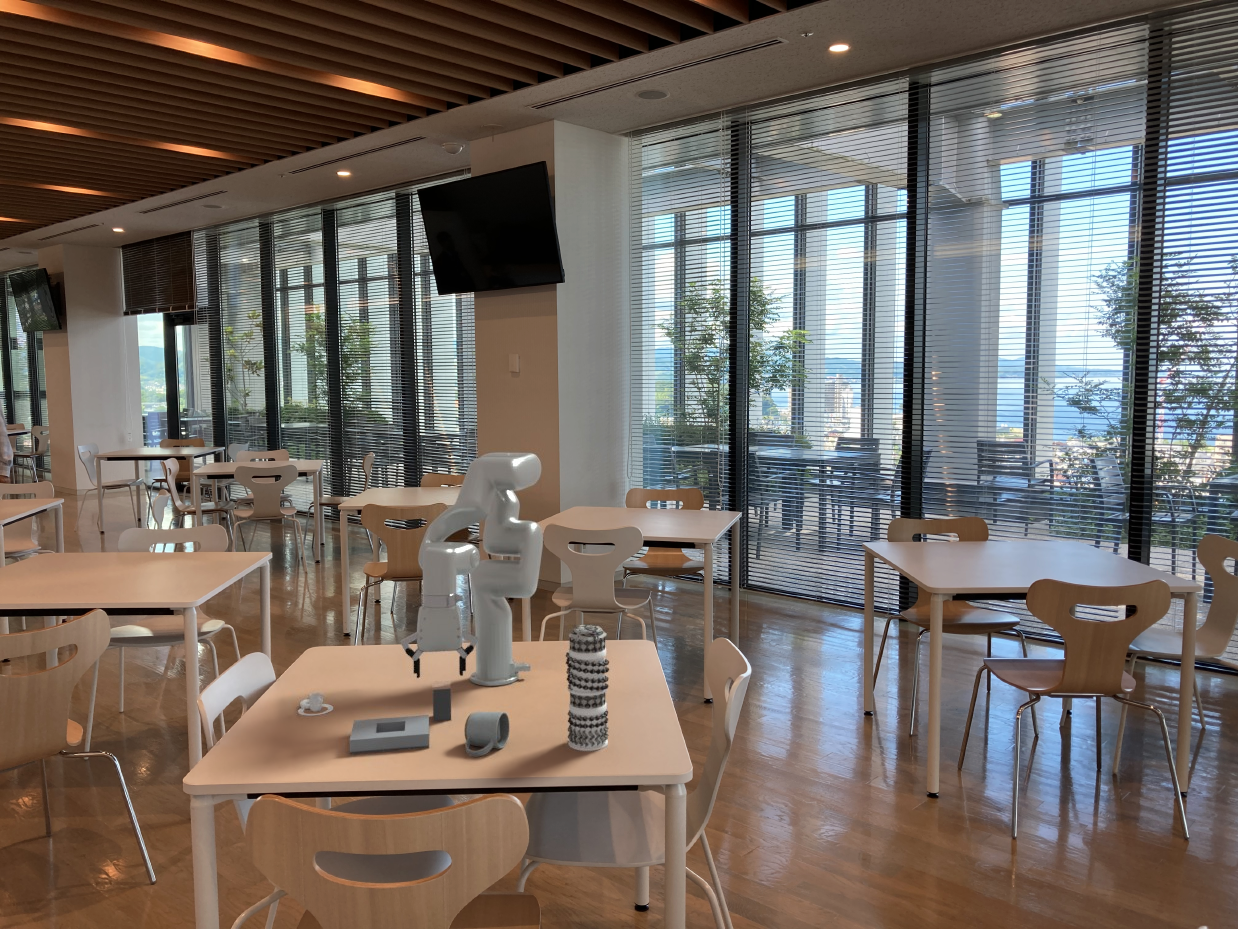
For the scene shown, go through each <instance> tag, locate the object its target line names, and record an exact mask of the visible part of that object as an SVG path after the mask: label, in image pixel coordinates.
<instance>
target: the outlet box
mask: <svg viewBox="0 0 1238 929" xmlns="http://www.w3.org/2000/svg"><path fill="white" fill-rule="evenodd" d="M429 748H430V716H429V714H422V715H421V714H420V715H409V716H408V715H406V716H395V717H394V716H393V717H383V718H382V717H379V718H367V719H356V720H353V724H352V727H351V732H350V737H349V755H357V754H358V755H359V754H370V753H383V752H393V751H394V752H395V751H407V750H419V749H429Z"/></svg>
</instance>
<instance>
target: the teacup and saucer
mask: <svg viewBox="0 0 1238 929" xmlns="http://www.w3.org/2000/svg"><path fill="white" fill-rule="evenodd" d="M323 696H324V693H322V692H313V693H310V694H309V695H308V698H307V699H303V700H301V701H300V703H299V706H300V707H301V708H299V709H298V710H297V713H298V714H299V715H302V716H305V717H307V716H308V717H309V716H310V717H311V716H312V717H313V716H321V715H325V714H327V713H330V712H332V711H333V710H334V706H333V705H332V704H331V705H330V704H328V703H323V702H324V700H323V699H324V698H323ZM324 707H325V708H327V710H325V711H324V712H320V711H321V710H322V708H324ZM305 710H310V711H311V712H313V713H305V712H304V711H305ZM314 712H319V713H314Z"/></svg>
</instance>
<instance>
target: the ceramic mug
mask: <svg viewBox="0 0 1238 929" xmlns="http://www.w3.org/2000/svg"><path fill="white" fill-rule="evenodd" d="M509 718H510V717H509V715H508V714H507V712H505V711H476V712H472V713H469V715H468V717H467V718H466V720H465V723H464V737H465V745H464V746H465V751H466V753H467V754H468V755H469V756H471V757H476V758H478V757H483V756H485V755H487V754H488V753H489V752H490V751H491V750H492V749H497V750H498V749H499V750H501V749H503V748H505V746H506V745H507V742H508V739H509V737H510V720H509ZM470 746H474V747H479V748H481V747H482V748H481V749H479V750H471V749H470Z"/></svg>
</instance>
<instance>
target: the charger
mask: <svg viewBox="0 0 1238 929" xmlns="http://www.w3.org/2000/svg"><path fill="white" fill-rule="evenodd" d="M432 717H433V721H432V722H436V723H437V722H448V721H449V722H450V721H452V686H451V680H442V681H432Z"/></svg>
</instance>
